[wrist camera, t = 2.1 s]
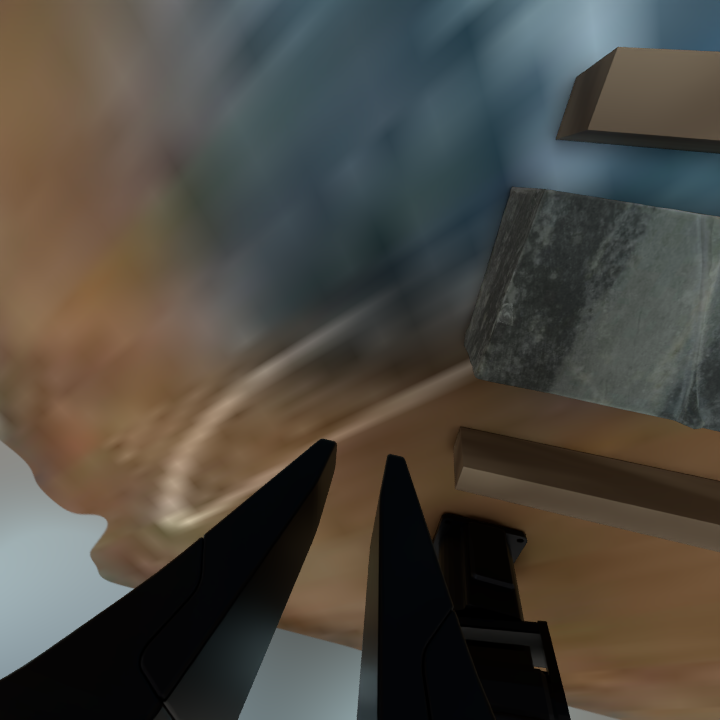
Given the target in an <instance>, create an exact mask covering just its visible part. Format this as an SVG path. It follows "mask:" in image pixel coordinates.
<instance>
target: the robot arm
mask: <svg viewBox="0 0 720 720" xmlns="http://www.w3.org/2000/svg"><path fill="white" fill-rule="evenodd" d="M336 452H337V443H336V442H335V441H331V440H327V439H320V440H319V441H317V442H316V443H315V444H314V445H312V446H311V447H310V448H309V449H308V450H306V451H305V452H304V453H303V454H302V455H300V456H299V457H298V458H297V459H295V460H294V461H293V462H292V463H291V464H289V465H288V466H287V467H286V468H285V469H283V470H282V471H281V472H280V473H278V474H277V475H276V476H275V477H274V478H272V479H271V480H270V481H269V482H268V483H266V484H265V485H264V486H263V487H262V488H260V489H259V490H258V491H257V492H255V493H254V494H253V495H252V496H251V497H249V498H248V499H247V500H246V501H245V502H243V503H242V504H241V505H240V506H238V507H237V508H236V509H235V510H234V511H232V512H231V513H230V514H229V515H228V516H226V517H225V518H224V519H223V520H221V521H220V522H219V523H218V524H217V525H215V526H214V527H213V528H212V529H211V530H209V531H208V532H207V533H206V534H205V535H204V538H202V537H201V538H199V539H198V540H197V541H196V542H194V543H193V544H192V545H191V546H190V547H188V548H187V549H186V550H185V551H184V552H182V553H181V554H180V555H178V556H177V557H176V558H175V559H173V560H172V561H171V562H170V563H168V564H167V565H166V566H165V567H163V568H162V569H161V570H159V571H158V572H157V573H156V574H154V575H153V576H151V577H150V578H149V579H147V580H146V581H144V582H143V583H142V584H140V585H139V586H138V587H136V588H135V589H133V590H132V591H131V592H129V593H128V594H126V595H125V596H124V597H122V598H121V599H119V600H118V601H117V602H115V603H114V604H112V605H111V606H109V607H108V608H106V609H105V610H104V611H102V612H101V613H99V614H98V615H96V616H95V617H94V618H92V619H91V620H89V621H88V622H87V623H85V624H84V625H82V626H81V627H79V628H78V629H76V630H75V631H74V632H72V633H71V634H69V635H68V636H66V637H65V638H64V639H62V640H60V641H59V642H58V643H56V644H55V645H53V646H52V647H50V648H49V649H48V650H46V651H45V652H43V653H42V654H40V655H39V656H37V657H36V658H35V659H33V660H31V661H30V662H28V663H27V664H26V665H24V666H23V667H21V668H19V669H17V670H16V671H14V672H13V673H11V674H9V675H8V676H6V677H4V678H2V679H1V680H0V720H238V718H239V715H240V713H241V710H242V708H243V706H244V703H245V701H246V699H247V696H248V694H249V691H250V689H251V687H252V684H253V682H254V679H255V677H256V675H257V672H258V670H259V668H260V665H261V663H262V660H263V658H264V656H265V653H266V651H267V649H268V646H269V644H270V641H271V639H272V636H273V634H274V632H275V630H276V627H277V625H278V622H279V620H280V618H281V615H282V613H283V611H284V608H285V606H286V603H287V601H288V599H289V596H290V594H291V591H292V589H293V587H294V584H295V582H296V580H297V577H298V575H299V572H300V570H301V568H302V565H303V563H304V561H305V558H306V556H307V553H308V551H309V549H310V546H311V544H312V541H313V539H314V536H315V534H316V531H317V528H318V525H319V522H320V519H321V515H322V512H323V508H324V505H325V502H326V498H327V495H328V491H329V488H330V484H331V481H332V478H333V474H334V470H335V465H336ZM526 543H527V537H526V534H524V533H523V532H519V531H515V530H511V529H507V528H503V527H499V526H495V525H491V524H487V523H483V522H479V521H475V520H471V519H467V518H463V517H459V516H455V515H451V514H444V515H442V517H441V520H440V522H439V525H438V528H437V531H436V534H435V536H434V539H433V542H432V539H431V536H430V533H429V530H428V527H427V524H426V521H425V518H424V515H423V512H422V509H421V506H420V503H419V500H418V497H417V494H416V491H415V488H414V485H413V482H412V479H411V476H410V473H409V470H408V467H407V464H406V461H405V459H404V458H403V457H401V456H396V455H392V454H389V455H388V456H387V460H386V465H385V470H384V475H383V480H382V485H381V490H380V496H379V501H378V506H377V512H376V517H375V522H374V528H373V533H372V539H371V545H370V554H369V566H368V579H367V593H366V606H365V619H364V632H363V645H362V658H361V671H360V684H359V697H358V710H357V720H571V719H570V715H569V710H568V706H567V702H566V698H565V693H564V689H563V685H562V681H561V677H560V673H559V669H558V665H557V661H556V657H555V653H554V649H553V645H552V641H551V637H550V633H549V629H548V625H547V621H537V622H528V621H524V618H523V612H522V607H521V601H520V596H519V591H518V585H517V580H516V574H515V569H514V562H515V561H516V559H517V558H518V556H519V554H520V553H521V551H522V550H523V548H524V546H525V545H526ZM534 666H535V667H543V668H546V670H547V672H545V671H541V670H540V669H534Z"/></svg>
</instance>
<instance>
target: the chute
mask: <svg viewBox="0 0 720 720" xmlns="http://www.w3.org/2000/svg"><path fill="white" fill-rule="evenodd" d="M556 140H568V141H579V142H591V143H603V144H614V145H626V146H637V147H649V148H661V149H672V150H684V151H696V152H707V153H719V154H720V52H713V51H691V50H670V49H649V48H628V47H617V48H616V49H615V50H613V51H612V52H610V53H609V54H608V55H606V56H605V57H603V58H602V59H601V60H599V61H598V62H597V63H595V64H594V65H592V66H591V67H590V68H588V69H587V70H586V71H584V72H583V73H581V74H580V75H579V76H577V77H576V80H575V83H574V86H573V89H572V92H571V95H570V98H569V101H568V104H567V107H566V110H565V113H564V116H563V119H562V122H561V125H560V128H559V131H558V134H557V137H556ZM454 472H455V489H457V490H461V491H465V492H469V493H474V494H478V495H482V496H486V497H490V498H495V499H499V500H503V501H507V502H511V503H515V504H520V505H524V506H528V507H532V508H536V509H541V510H545V511H549V512H553V513H557V514H562V515H566V516H570V517H574V518H578V519H583V520H587V521H591V522H595V523H599V524H604V525H608V526H612V527H616V528H620V529H625V530H629V531H633V532H637V533H641V534H646V535H650V536H654V537H658V538H662V539H666V540H671V541H675V542H679V543H683V544H687V545H692V546H696V547H700V548H704V549H708V550H713V551H717V552H720V481H715V480H710V479H706V478H701V477H696V476H691V475H687V474H682V473H677V472H672V471H668V470H663V469H658V468H654V467H649V466H644V465H639V464H635V463H630V462H625V461H620V460H616V459H611V458H606V457H602V456H597V455H592V454H587V453H583V452H578V451H573V450H568V449H564V448H559V447H554V446H549V445H545V444H540V443H535V442H531V441H526V440H521V439H516V438H512V437H507V436H502V435H497V434H493V433H488V432H483V431H479V430H474V429H469V428H464V427H460V430H459V433H458V436H457V439H456V442H455V445H454Z"/></svg>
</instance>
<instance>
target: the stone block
mask: <svg viewBox="0 0 720 720" xmlns="http://www.w3.org/2000/svg"><path fill="white" fill-rule="evenodd" d="M464 346H465V347H466V350H467V352H468V354H469V358H470V361H471V364H472V366H473V372H474V375H475V377H476V378H478V379H482V380H486V381H490V382H495V383H500V384H506V385H511V386H516V387H521V388H525V389H531V390H536V391H541V392H546V393H552V394H556V395H560V396H565V397H569V398H573V399H578V400H583V401H588V402H592V403H597V404H601V405H606V406H610V407H615V408H619V409H624V410H629V411H633V412H638V413H643V414H648V415H652V416H657V417H661V418H666V419H671V420H675V421H677V422H679V423H682V424H684V425H686V426H688V427H691V428H693V429H699V428H706V429H710V430H714V431H719V432H720V217H718V216H711V215H705V214H698V213H692V212H686V211H680V210H674V209H667V208H660V207H653V206H647V205H642V204H636V203H629V202H623V201H617V200H610V199H604V198H598V197H592V196H586V195H579V194H573V193H566V192H560V191H554V190H547V189H535V188H518V187H512V188H511V191H510V197H509V199H508V202H507V205H506V208H505V211H504V214H503V217H502V221H501V225H500V228H499V231H498V234H497V237H496V241H495V244H494V247H493V250H492V253H491V257H490V260H489V263H488V267H487V270H486V273H485V277H484V280H483V283H482V285H481V289H480V292H479V295H478V299H477V303H476V305H475V310H474V312H473V315H472V319H471V322H470V325H469V327H468V328H467V330H466V334H465V341H464Z"/></svg>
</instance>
